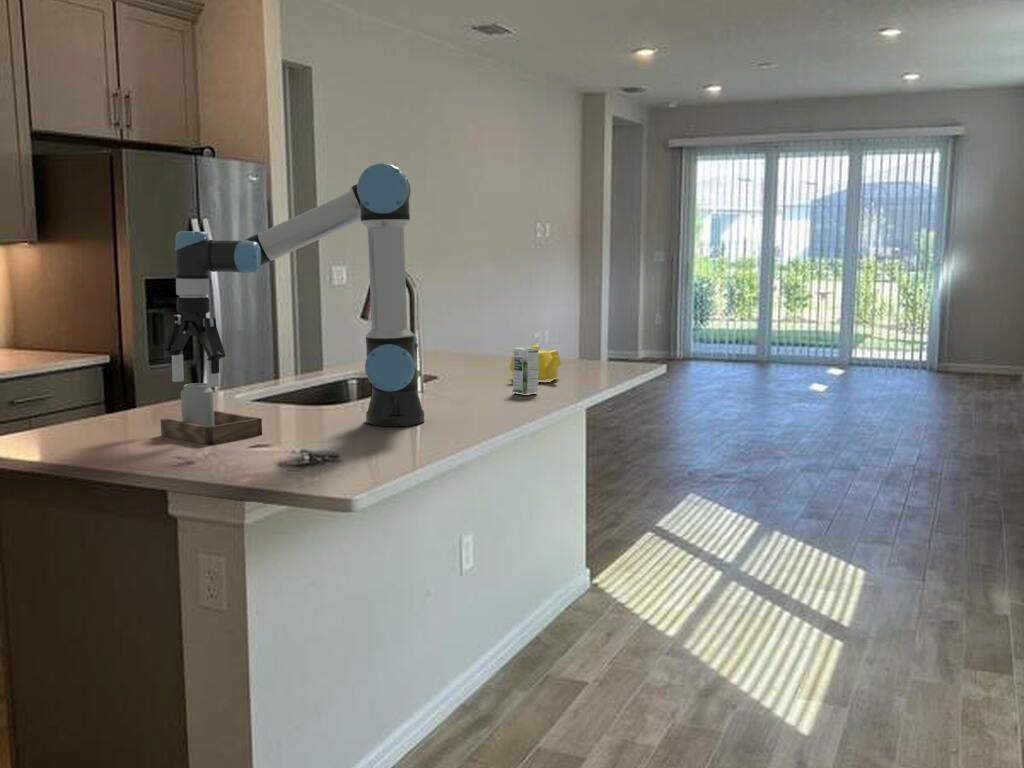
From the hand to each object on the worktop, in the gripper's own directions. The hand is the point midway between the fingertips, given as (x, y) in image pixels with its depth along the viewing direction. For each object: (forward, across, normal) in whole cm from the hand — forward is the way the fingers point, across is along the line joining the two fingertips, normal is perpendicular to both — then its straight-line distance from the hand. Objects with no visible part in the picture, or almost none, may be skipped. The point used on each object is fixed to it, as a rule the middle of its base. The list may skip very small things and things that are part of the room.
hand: (195, 384), depth 235 cm
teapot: (+11, -13, -126) cm, 127 cm away
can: (+12, 0, 0) cm, 12 cm away
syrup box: (+11, -28, -99) cm, 104 cm away
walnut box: (+12, -6, 0) cm, 13 cm away
